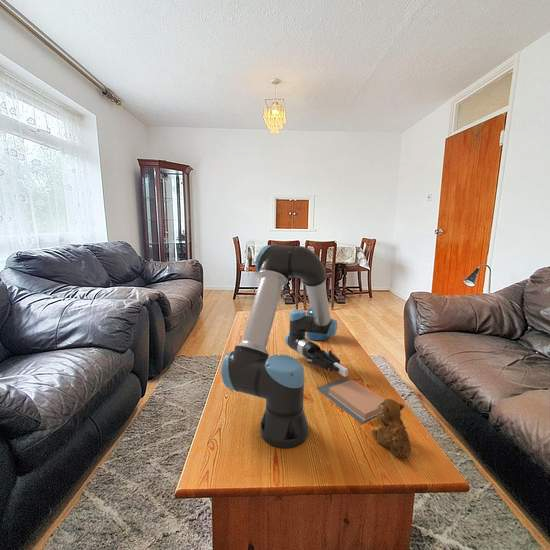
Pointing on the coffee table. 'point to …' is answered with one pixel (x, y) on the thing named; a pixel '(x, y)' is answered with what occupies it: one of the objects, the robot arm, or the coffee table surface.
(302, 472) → the coffee table surface
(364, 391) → the tile
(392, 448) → the stuffed squirrel
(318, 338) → the wine bottle
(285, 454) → the coffee table surface
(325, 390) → the mat
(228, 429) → the coffee table surface
